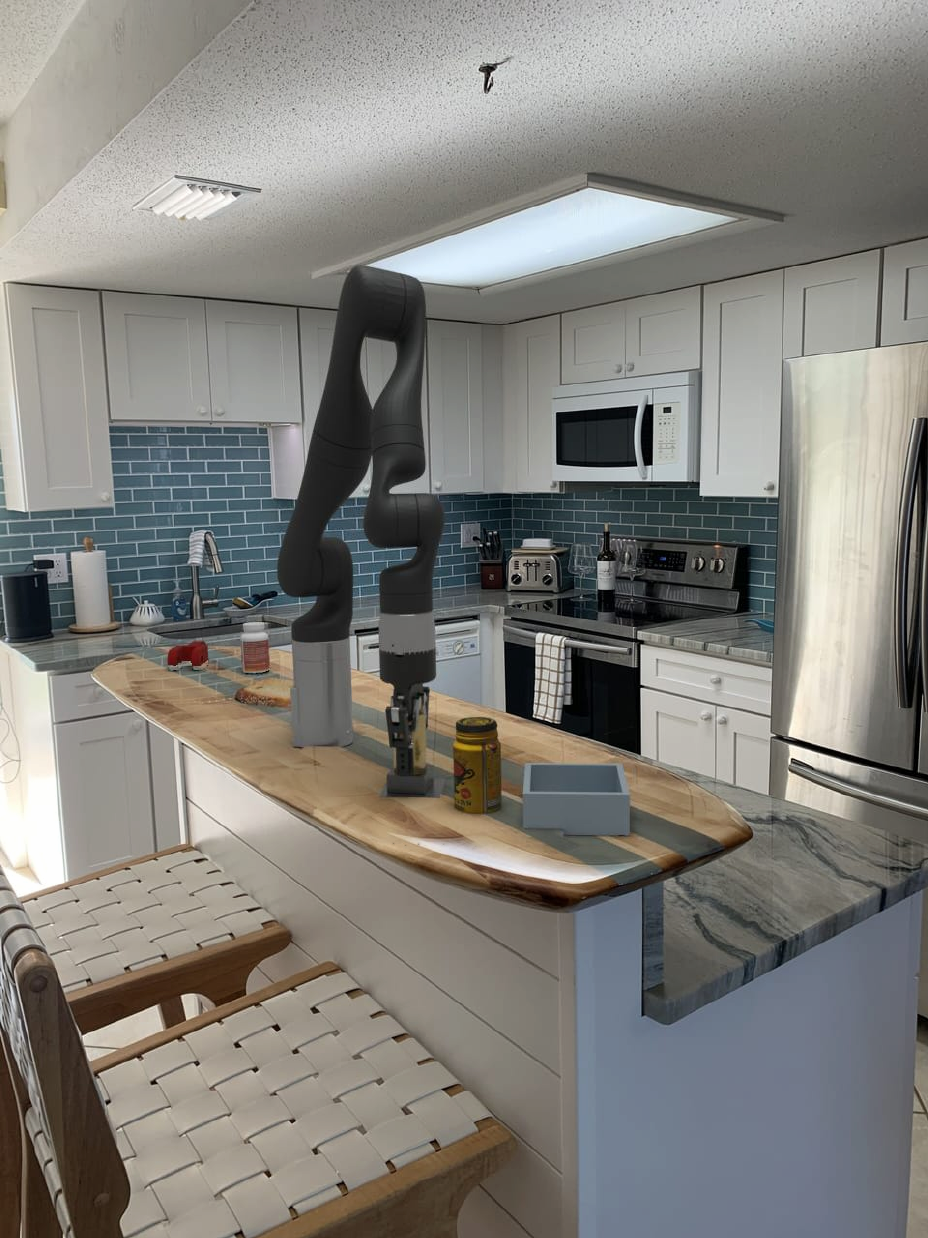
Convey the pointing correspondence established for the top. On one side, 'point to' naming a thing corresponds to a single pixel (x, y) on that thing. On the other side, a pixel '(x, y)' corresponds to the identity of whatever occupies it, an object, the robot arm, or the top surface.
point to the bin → (576, 798)
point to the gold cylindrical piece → (422, 772)
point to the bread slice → (267, 692)
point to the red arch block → (189, 653)
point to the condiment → (477, 766)
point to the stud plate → (431, 793)
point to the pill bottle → (254, 648)
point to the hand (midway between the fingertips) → (410, 769)
